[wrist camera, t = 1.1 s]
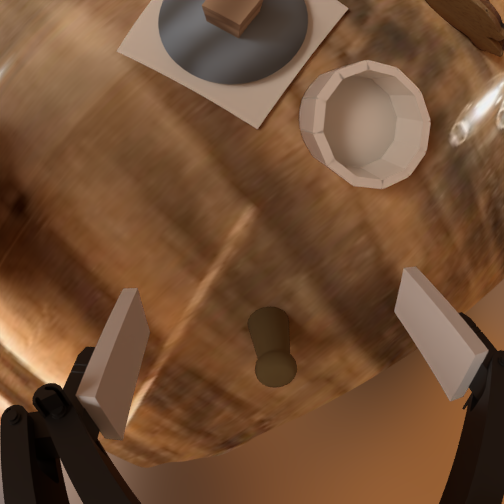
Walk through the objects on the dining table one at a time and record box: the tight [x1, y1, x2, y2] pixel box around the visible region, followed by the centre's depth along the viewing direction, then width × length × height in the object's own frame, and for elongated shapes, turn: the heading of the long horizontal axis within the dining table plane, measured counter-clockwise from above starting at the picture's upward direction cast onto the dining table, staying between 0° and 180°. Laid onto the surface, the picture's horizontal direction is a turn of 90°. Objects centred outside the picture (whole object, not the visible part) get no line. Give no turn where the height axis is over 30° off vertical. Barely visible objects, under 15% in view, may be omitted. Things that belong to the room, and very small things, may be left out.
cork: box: [248, 307, 297, 387], centre depth 41 cm, size 6×6×11 cm
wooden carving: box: [426, 0, 504, 57], centre depth 22 cm, size 16×5×10 cm, turn 69°
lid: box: [158, 0, 308, 84], centre depth 24 cm, size 16×16×7 cm
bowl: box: [299, 60, 431, 189], centre depth 31 cm, size 13×13×7 cm
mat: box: [117, 0, 348, 129], centre depth 28 cm, size 19×19×1 cm
